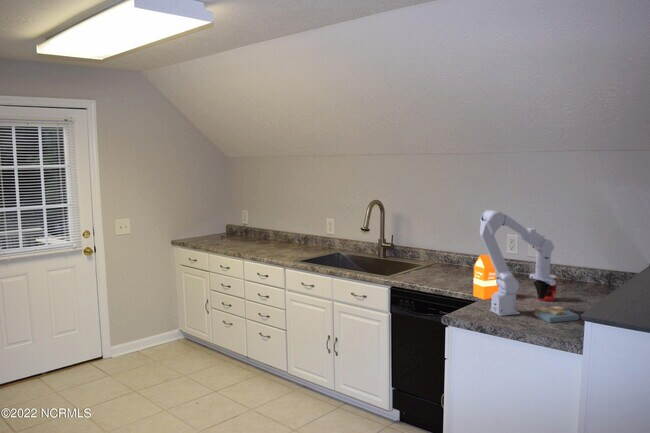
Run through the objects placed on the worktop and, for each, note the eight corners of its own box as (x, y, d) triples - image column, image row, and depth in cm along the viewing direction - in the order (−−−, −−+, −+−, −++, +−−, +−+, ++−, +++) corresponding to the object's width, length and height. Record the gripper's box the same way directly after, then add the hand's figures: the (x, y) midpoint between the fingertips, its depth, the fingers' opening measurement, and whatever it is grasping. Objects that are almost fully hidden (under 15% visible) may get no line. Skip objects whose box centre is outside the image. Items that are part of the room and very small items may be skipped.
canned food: (550, 297, 250) (551, 273, 248) (559, 301, 242) (559, 277, 240) (534, 297, 249) (535, 274, 248) (542, 301, 241) (543, 277, 240)
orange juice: (473, 295, 253) (474, 254, 251) (488, 293, 256) (489, 252, 254) (483, 299, 246) (484, 256, 244) (499, 297, 249) (500, 255, 247)
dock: (549, 322, 210) (549, 317, 210) (538, 317, 217) (538, 312, 217) (578, 319, 214) (578, 314, 214) (566, 314, 221) (566, 310, 220)
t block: (547, 320, 213) (547, 313, 212) (534, 315, 220) (534, 308, 220) (573, 318, 216) (573, 311, 215) (559, 313, 223) (560, 306, 223)
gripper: (562, 269, 218) (561, 302, 219) (540, 263, 232) (538, 293, 233) (547, 270, 216) (546, 303, 218) (525, 263, 230) (524, 294, 232)
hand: (541, 298), depth 225 cm, fingers closed
